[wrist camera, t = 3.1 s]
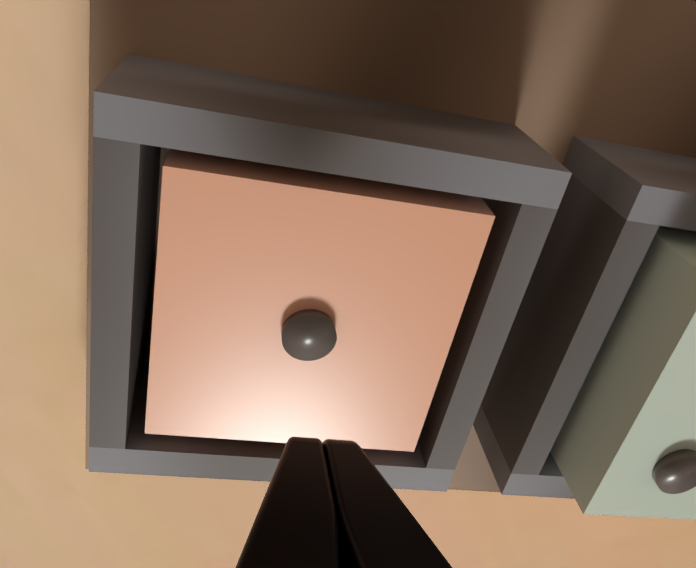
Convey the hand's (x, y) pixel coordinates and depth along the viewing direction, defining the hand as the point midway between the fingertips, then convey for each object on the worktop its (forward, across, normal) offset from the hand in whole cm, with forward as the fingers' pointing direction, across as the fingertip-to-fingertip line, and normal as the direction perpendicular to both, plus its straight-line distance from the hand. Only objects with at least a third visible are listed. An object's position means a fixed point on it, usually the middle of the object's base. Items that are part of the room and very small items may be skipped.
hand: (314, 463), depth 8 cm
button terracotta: (+5, 0, 0) cm, 5 cm away
